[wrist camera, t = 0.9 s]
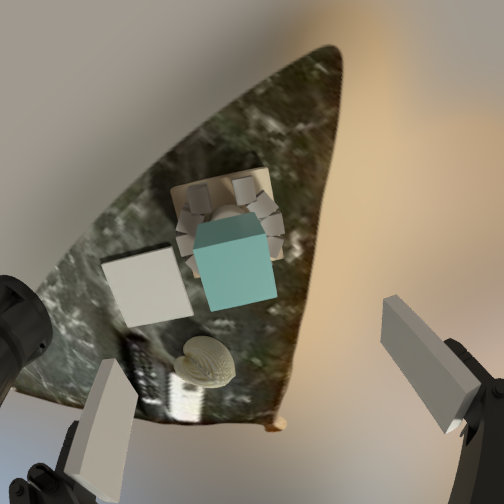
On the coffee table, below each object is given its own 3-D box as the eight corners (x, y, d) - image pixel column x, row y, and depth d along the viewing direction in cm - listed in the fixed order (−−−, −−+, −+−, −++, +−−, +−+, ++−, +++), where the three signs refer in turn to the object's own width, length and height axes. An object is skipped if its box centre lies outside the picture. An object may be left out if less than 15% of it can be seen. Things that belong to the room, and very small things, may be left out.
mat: (128, 325, 39) (128, 327, 38) (102, 263, 35) (101, 264, 35) (193, 312, 39) (193, 315, 39) (171, 245, 36) (171, 247, 35)
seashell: (190, 327, 38) (240, 362, 36) (207, 328, 46) (248, 356, 44) (159, 374, 36) (207, 409, 34) (181, 367, 44) (221, 396, 43)
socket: (195, 271, 37) (192, 292, 32) (172, 187, 33) (164, 195, 28) (280, 252, 38) (290, 270, 32) (264, 166, 33) (274, 171, 28)
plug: (212, 251, 34) (211, 311, 22) (201, 208, 32) (192, 249, 20) (270, 237, 35) (300, 291, 22) (262, 194, 33) (290, 227, 21)
